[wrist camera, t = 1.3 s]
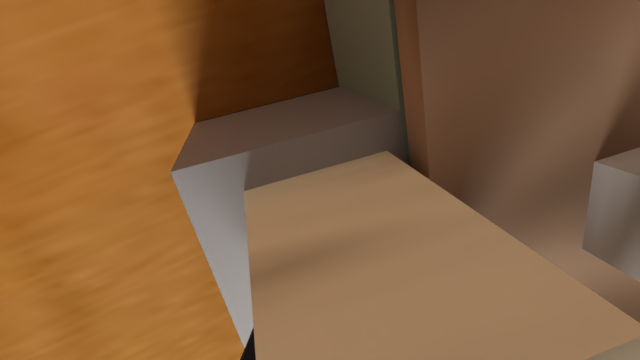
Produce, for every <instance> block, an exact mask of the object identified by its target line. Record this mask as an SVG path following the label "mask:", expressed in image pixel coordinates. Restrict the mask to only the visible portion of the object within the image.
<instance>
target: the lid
mask: <svg viewBox="0 0 640 360" xmlns="http://www.w3.org/2000/svg"><path fill="white" fill-rule="evenodd" d="M394 7H395V17H396V27H397V37H398V47H399V57H400V67H401V77H402V87H403V97H404V107H405V117H406V127H407V137H408V147H409V157H410V167H412V168H413V169H415V170H416V171H418V172H419V173H421V174H422V175H423V176H425V177H426V178H428V179H429V180H431V181H432V182H434V183H435V184H437V185H438V186H440V187H441V188H442V189H444V190H445V191H447V192H448V193H450V194H451V195H453V196H454V197H456V198H457V199H459V200H460V201H462V202H463V203H464V204H466V205H467V206H469V207H470V208H472V209H473V210H475V211H476V212H478V213H479V214H481V215H482V216H484V217H485V218H486V219H488V220H489V221H491V222H492V223H494V224H495V225H497V226H498V227H500V228H501V229H503V230H504V231H506V232H507V233H508V234H510V235H511V236H513V237H514V238H516V239H517V240H519V241H520V242H522V243H523V244H525V245H526V246H528V247H529V248H530V249H532V250H533V251H535V252H536V253H538V254H539V255H541V256H542V257H544V258H545V259H547V260H548V261H550V262H551V263H552V264H554V265H555V266H557V267H558V268H560V269H561V270H563V271H564V272H566V273H567V274H569V275H570V276H571V277H573V278H574V279H576V280H577V281H579V282H580V283H582V284H583V285H585V286H586V287H588V288H589V289H591V290H592V291H593V292H595V293H596V294H598V295H599V296H601V297H602V298H604V299H605V300H607V301H608V302H610V303H611V304H613V305H614V306H615V307H617V308H618V309H620V310H621V311H623V312H624V313H626V314H627V315H629V316H630V317H632V318H633V319H635V320H636V321H637V322H639V323H640V0H394Z"/></svg>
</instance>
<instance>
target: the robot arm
mask: <svg viewBox="0 0 640 360" xmlns="http://www.w3.org/2000/svg"><path fill="white" fill-rule="evenodd" d="M240 360H256V355H255V341H254V328H253V329H252V332H251V334H250V337H249V339H248V342H247V344H246V347H245V349H244V352H243V354H242V357H241V359H240Z"/></svg>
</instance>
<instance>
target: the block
mask: <svg viewBox="0 0 640 360" xmlns="http://www.w3.org/2000/svg"><path fill="white" fill-rule="evenodd" d="M244 202H245V216H246V230H247V244H248V258H249V272H250V286H251V300H252V314H253V328H254V341H255V355H256V360H640V323H639V322H637V321H636V320H635V319H633V318H632V317H630V316H629V315H627V314H626V313H624V312H623V311H621V310H620V309H618V308H617V307H615V306H614V305H613V304H611V303H610V302H608V301H607V300H605V299H604V298H602V297H601V296H599V295H598V294H596V293H595V292H593V291H592V290H591V289H589V288H588V287H586V286H585V285H583V284H582V283H580V282H579V281H577V280H576V279H574V278H573V277H571V276H570V275H569V274H567V273H566V272H564V271H563V270H561V269H560V268H558V267H557V266H555V265H554V264H552V263H551V262H550V261H548V260H547V259H545V258H544V257H542V256H541V255H539V254H538V253H536V252H535V251H533V250H532V249H530V248H529V247H528V246H526V245H525V244H523V243H522V242H520V241H519V240H517V239H516V238H514V237H513V236H511V235H510V234H508V233H507V232H506V231H504V230H503V229H501V228H500V227H498V226H497V225H495V224H494V223H492V222H491V221H489V220H488V219H486V218H485V217H484V216H482V215H481V214H479V213H478V212H476V211H475V210H473V209H472V208H470V207H469V206H467V205H466V204H464V203H463V202H462V201H460V200H459V199H457V198H456V197H454V196H453V195H451V194H450V193H448V192H447V191H445V190H444V189H442V188H441V187H440V186H438V185H437V184H435V183H434V182H432V181H431V180H429V179H428V178H426V177H425V176H423V175H422V174H421V173H419V172H418V171H416V170H415V169H413V168H412V167H410V166H409V165H407V164H406V163H404V162H403V161H401V160H400V159H399V158H397V157H396V156H394V155H393V154H391V153H390V152H388V151H384V152H380V153H377V154H373V155H370V156H366V157H363V158H359V159H355V160H352V161H348V162H345V163H341V164H338V165H334V166H331V167H327V168H324V169H320V170H317V171H313V172H310V173H306V174H303V175H299V176H296V177H292V178H288V179H285V180H281V181H278V182H274V183H271V184H267V185H264V186H260V187H257V188H253V189H250V190H246V191H244Z"/></svg>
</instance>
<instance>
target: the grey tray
mask: <svg viewBox="0 0 640 360" xmlns="http://www.w3.org/2000/svg"><path fill="white" fill-rule="evenodd" d="M324 5H325V10H326V16H327V22H328V27H329V33H330V39H331V44H332V50H333V56H334V62H335V67H336V73H337V79H338V84H339V87H336V88H332V89H328V90H324V91H320V92H316V93H312V94H308V95H305V96H301V97H297V98H293V99H289V100H285V101H281V102H277V103H273V104H269V105H265V106H261V107H257V108H253V109H249V110H245V111H241V112H237V113H233V114H229V115H225V116H221V117H217V118H213V119H209V120H205V121H201V122H197V123H194V125H193V128H192V130H191V132H190V134H189V136H188V138H187V140H186V142H185V144H184V146H183V148H182V150H181V152H180V154H179V156H178V158H177V160H176V162H175V164H174V166H173V168H172V170H171V172H170V173H171V175H172V177H173V180H174V182H175V184H176V187H177V189H178V192H179V194H180V196H181V199H182V201H183V203H184V206H185V208H186V211H187V213H188V215H189V218H190V220H191V223H192V225H193V227H194V230H195V232H196V234H197V237H198V239H199V242H200V244H201V246H202V249H203V251H204V253H205V256H206V258H207V261H208V263H209V265H210V268H211V270H212V272H213V275H214V277H215V280H216V282H217V284H218V287H219V289H220V292H221V294H222V296H223V299H224V301H225V303H226V306H227V308H228V311H229V313H230V315H231V318H232V320H233V322H234V325H235V327H236V330H237V332H238V334H239V337H240V339H241V341H242V344H243V346H244V349H245V347H246V344H247V342H248V339H249V337H250V334H251V332H252V329H253V314H252V300H251V286H250V272H249V258H248V244H247V230H246V216H245V202H244V191H246V190H250V189H253V188H257V187H260V186H264V185H267V184H271V183H274V182H278V181H281V180H285V179H288V178H292V177H296V176H299V175H303V174H306V173H310V172H313V171H317V170H320V169H324V168H327V167H331V166H334V165H338V164H341V163H345V162H348V161H352V160H355V159H359V158H363V157H366V156H370V155H373V154H377V153H380V152H384V151H388V152H390V153H391V154H393V155H394V156H396V157H397V158H399V159H400V160H401V161H403V162H404V163H406V164H407V165H409V166H410V157H409V147H408V137H407V127H406V117H405V107H404V97H403V87H402V77H401V67H400V57H399V47H398V37H397V27H396V17H395V7H394V0H324Z"/></svg>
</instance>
